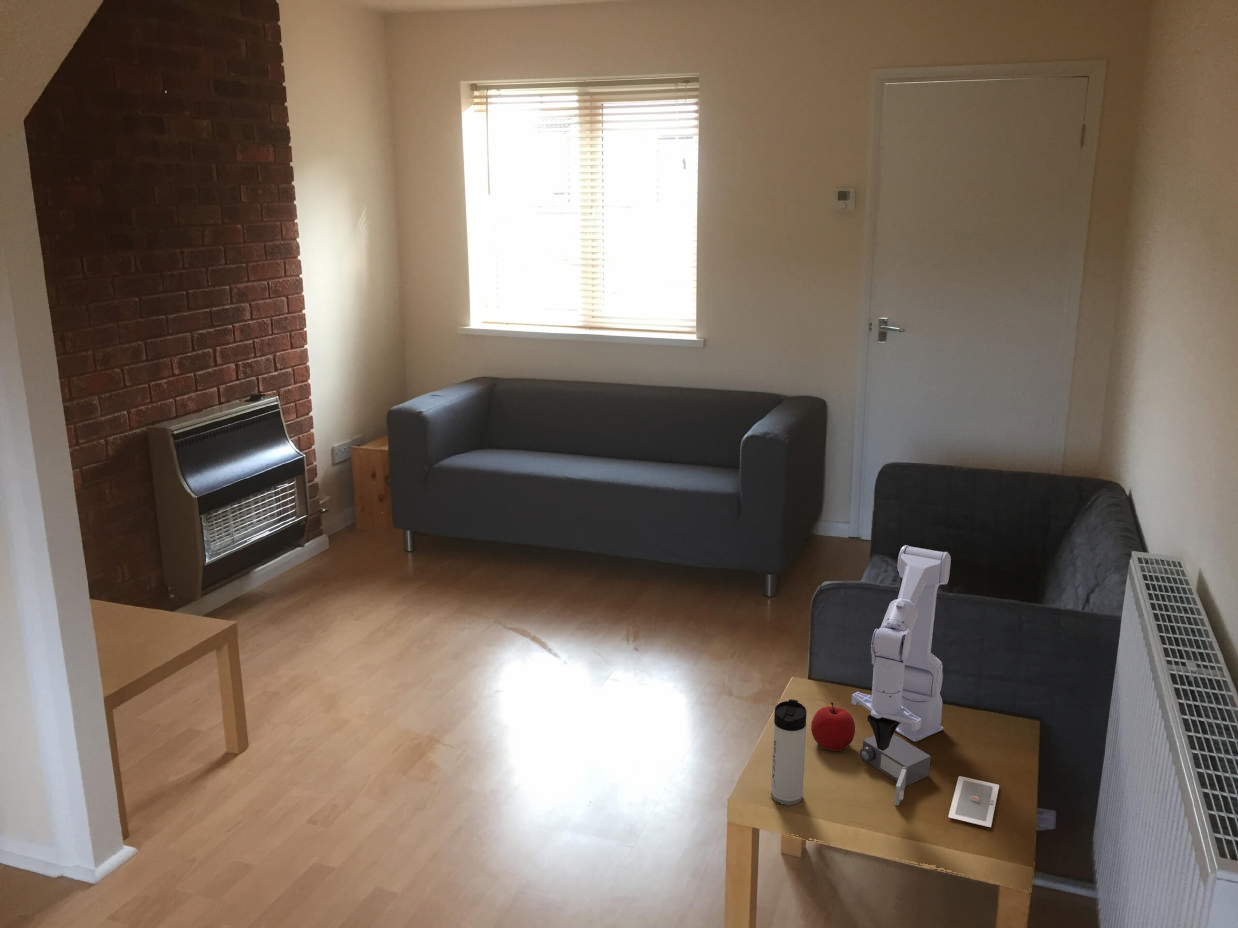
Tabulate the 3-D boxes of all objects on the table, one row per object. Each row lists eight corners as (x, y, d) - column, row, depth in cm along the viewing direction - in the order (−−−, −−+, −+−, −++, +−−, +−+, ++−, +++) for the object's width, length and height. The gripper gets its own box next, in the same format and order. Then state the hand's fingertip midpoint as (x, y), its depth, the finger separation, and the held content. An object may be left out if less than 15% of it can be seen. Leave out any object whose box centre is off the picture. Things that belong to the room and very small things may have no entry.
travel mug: (805, 789, 212) (809, 701, 207) (799, 808, 206) (804, 718, 201) (774, 783, 214) (778, 696, 209) (767, 802, 208) (771, 712, 203)
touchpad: (947, 821, 203) (948, 812, 202) (958, 780, 216) (959, 771, 215) (990, 832, 200) (991, 822, 199) (998, 789, 213) (999, 780, 212)
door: (901, 785, 213) (902, 765, 212) (909, 787, 213) (910, 767, 211) (893, 806, 207) (895, 785, 206) (901, 808, 206) (903, 787, 205)
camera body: (885, 748, 226) (886, 727, 225) (928, 775, 217) (930, 753, 215) (855, 761, 222) (857, 739, 220) (899, 789, 212) (901, 766, 211)
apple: (808, 753, 225) (811, 712, 222) (811, 731, 233) (813, 691, 230) (853, 759, 223) (855, 717, 220) (854, 736, 231) (857, 696, 228)
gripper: (844, 680, 207) (840, 740, 211) (909, 707, 196) (903, 770, 201) (864, 668, 211) (860, 727, 215) (929, 694, 201) (923, 756, 205)
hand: (882, 747), depth 208 cm, fingers closed
